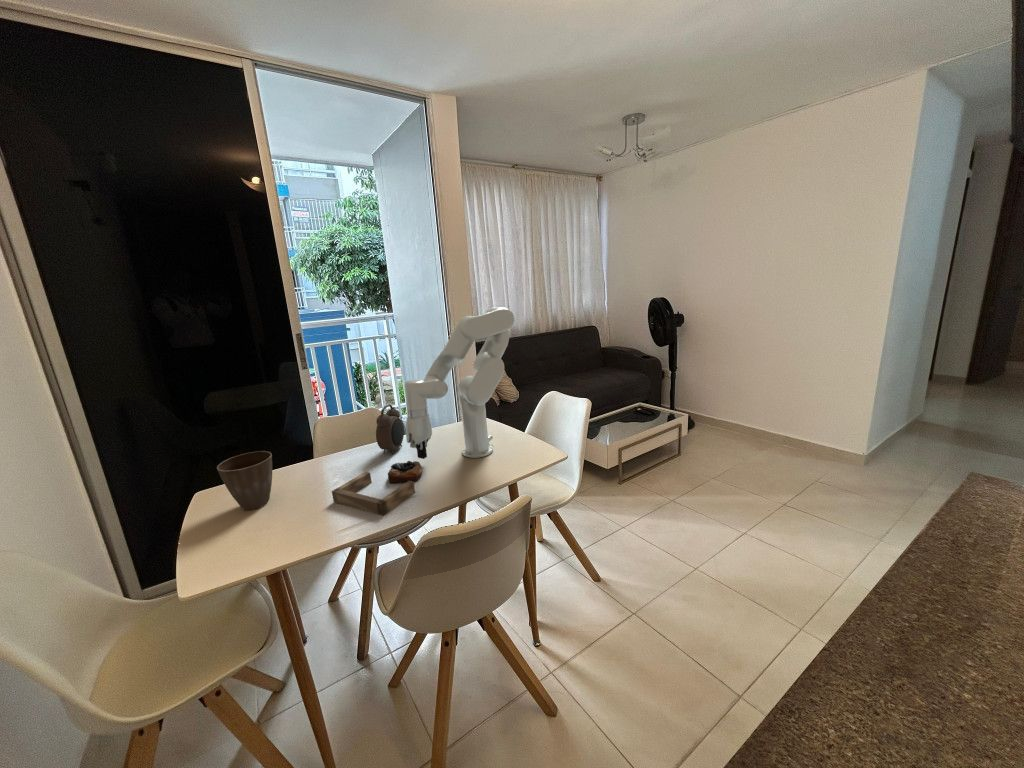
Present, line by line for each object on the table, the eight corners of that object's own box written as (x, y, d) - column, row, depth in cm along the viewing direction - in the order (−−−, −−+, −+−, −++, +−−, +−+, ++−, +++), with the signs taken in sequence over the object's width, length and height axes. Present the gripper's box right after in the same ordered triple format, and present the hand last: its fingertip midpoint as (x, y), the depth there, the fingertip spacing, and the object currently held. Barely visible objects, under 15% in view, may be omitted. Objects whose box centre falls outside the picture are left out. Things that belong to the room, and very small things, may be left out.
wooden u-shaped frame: (367, 481, 140) (365, 471, 139) (415, 492, 130) (413, 481, 129) (333, 502, 127) (331, 491, 126) (383, 515, 117) (381, 504, 116)
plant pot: (236, 499, 134) (225, 456, 130) (285, 488, 139) (275, 447, 135) (222, 522, 120) (209, 475, 116) (277, 509, 125) (265, 464, 121)
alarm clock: (394, 457, 159) (387, 411, 154) (377, 457, 160) (370, 411, 155) (408, 443, 173) (402, 400, 168) (393, 443, 174) (387, 400, 169)
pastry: (392, 471, 147) (390, 457, 145) (424, 468, 147) (422, 454, 146) (386, 486, 136) (383, 470, 135) (420, 482, 137) (418, 467, 135)
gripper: (422, 405, 154) (427, 449, 158) (396, 417, 141) (401, 463, 145) (438, 407, 151) (441, 451, 155) (412, 419, 138) (417, 467, 142)
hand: (422, 457), depth 150 cm, fingers closed
